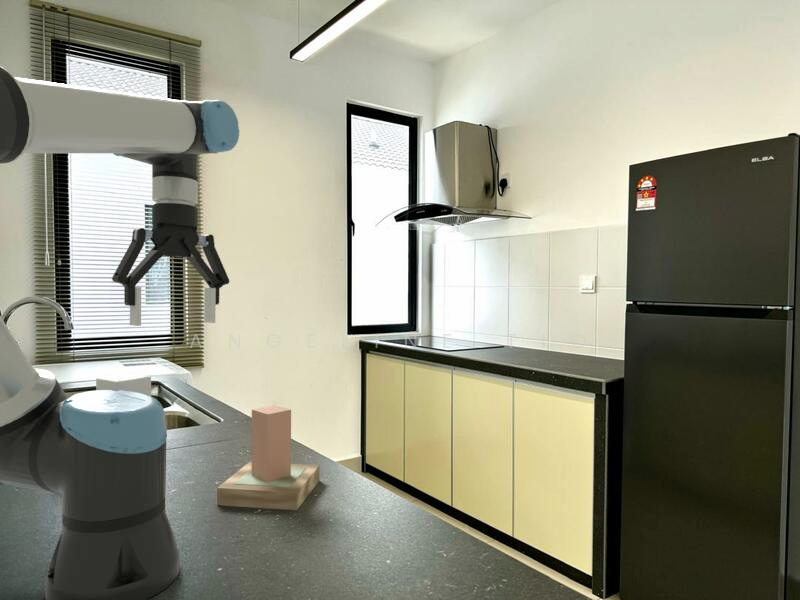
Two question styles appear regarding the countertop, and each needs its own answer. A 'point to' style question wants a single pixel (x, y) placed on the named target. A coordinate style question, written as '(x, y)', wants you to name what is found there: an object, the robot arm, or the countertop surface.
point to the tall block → (271, 443)
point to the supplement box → (125, 383)
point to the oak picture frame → (269, 488)
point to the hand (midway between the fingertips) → (174, 324)
